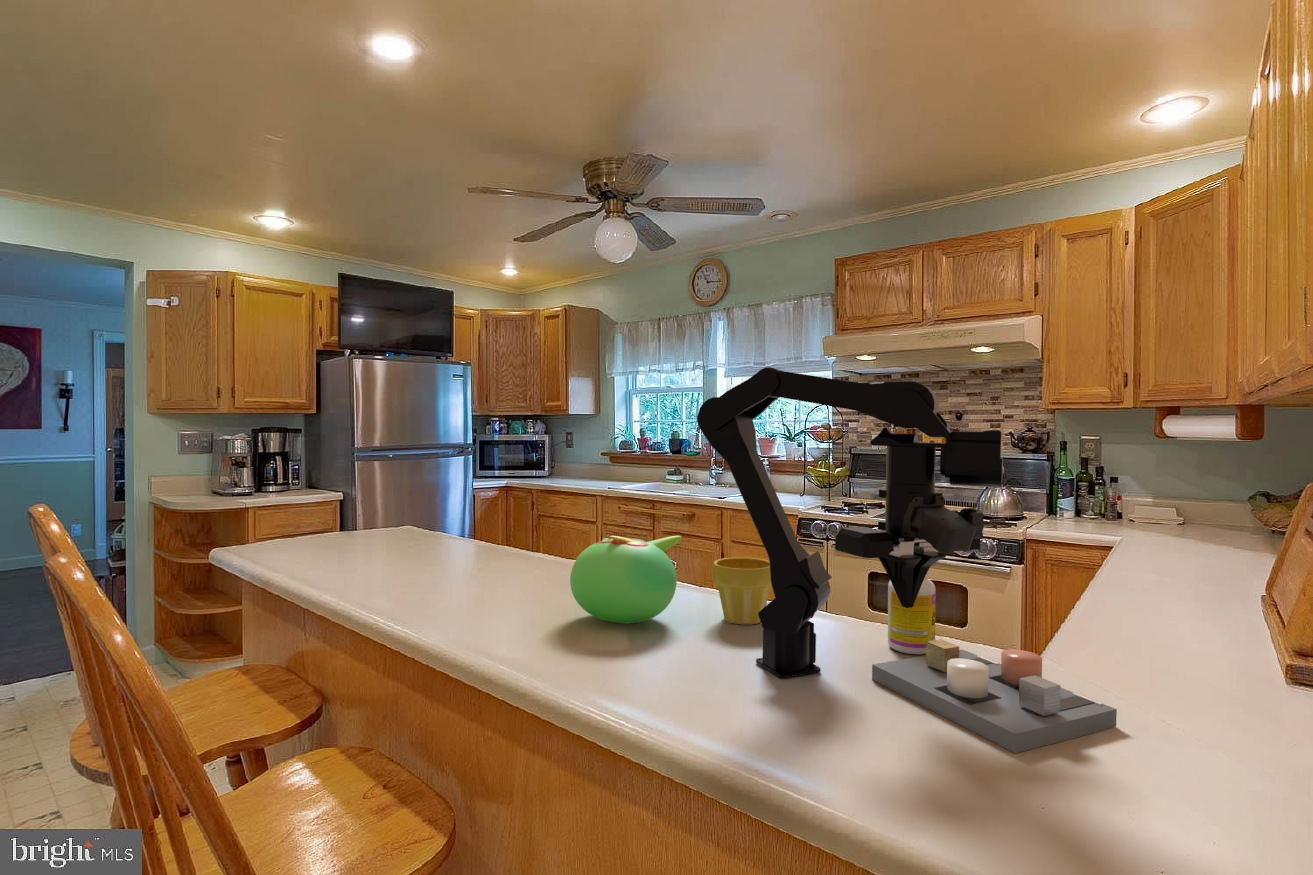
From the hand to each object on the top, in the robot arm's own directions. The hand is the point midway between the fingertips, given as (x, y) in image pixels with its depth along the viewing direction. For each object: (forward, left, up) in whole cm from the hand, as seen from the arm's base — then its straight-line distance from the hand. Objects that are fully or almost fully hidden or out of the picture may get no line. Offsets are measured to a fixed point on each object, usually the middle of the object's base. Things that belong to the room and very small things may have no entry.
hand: (907, 607), depth 83 cm
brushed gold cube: (+6, 0, -8) cm, 10 cm away
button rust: (+12, -7, -8) cm, 16 cm away
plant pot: (-3, +34, -11) cm, 36 cm away
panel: (+7, -6, -11) cm, 14 cm away
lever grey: (+6, -14, -8) cm, 17 cm away
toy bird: (-22, +41, -11) cm, 48 cm away
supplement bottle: (+13, +12, -11) cm, 20 cm away
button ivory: (+3, -7, -8) cm, 11 cm away
